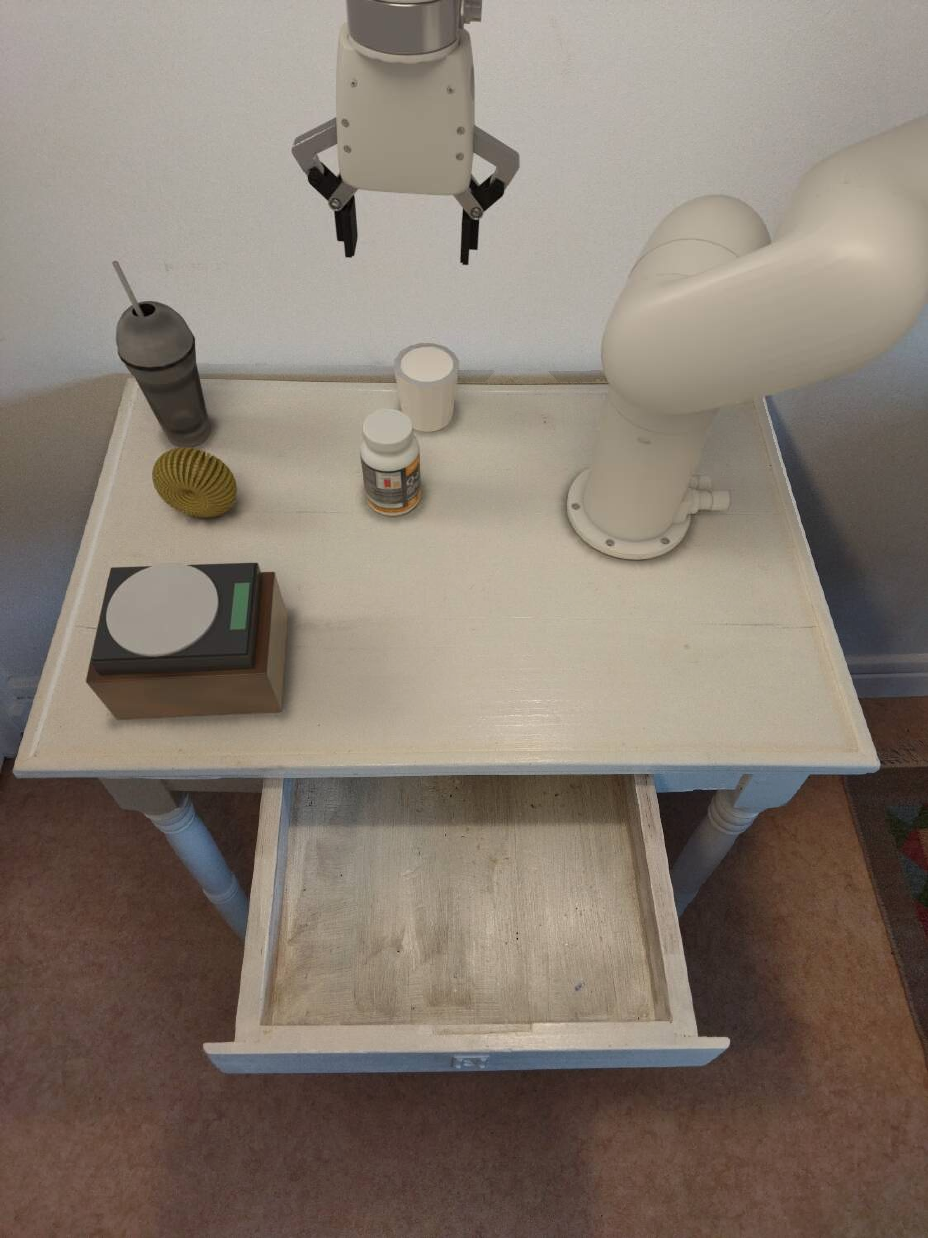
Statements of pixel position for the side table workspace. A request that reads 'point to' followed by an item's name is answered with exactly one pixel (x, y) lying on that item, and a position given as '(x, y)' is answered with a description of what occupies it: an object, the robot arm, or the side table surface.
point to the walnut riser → (207, 677)
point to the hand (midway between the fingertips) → (408, 251)
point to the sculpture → (194, 482)
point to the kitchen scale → (178, 619)
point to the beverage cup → (163, 366)
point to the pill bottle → (390, 462)
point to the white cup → (427, 384)
